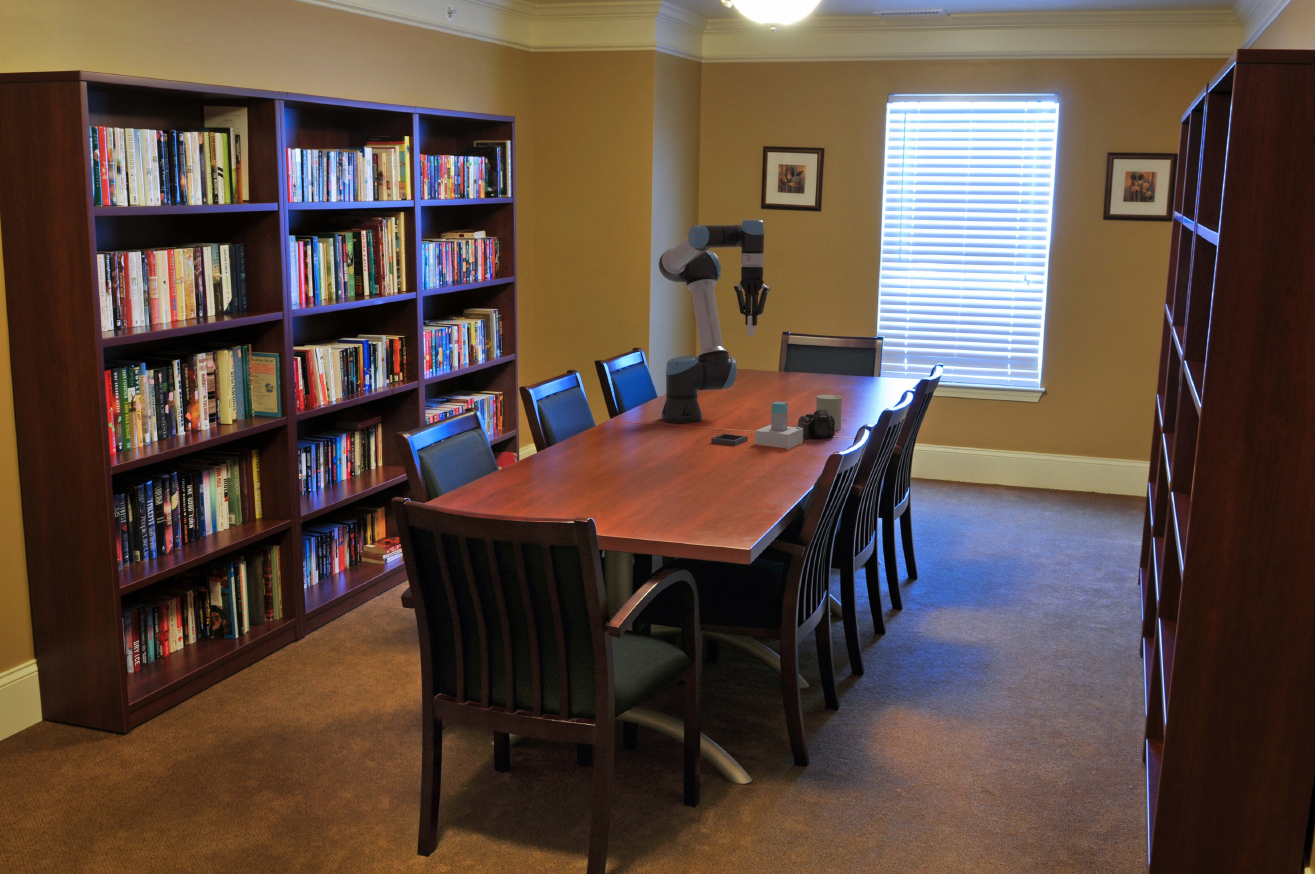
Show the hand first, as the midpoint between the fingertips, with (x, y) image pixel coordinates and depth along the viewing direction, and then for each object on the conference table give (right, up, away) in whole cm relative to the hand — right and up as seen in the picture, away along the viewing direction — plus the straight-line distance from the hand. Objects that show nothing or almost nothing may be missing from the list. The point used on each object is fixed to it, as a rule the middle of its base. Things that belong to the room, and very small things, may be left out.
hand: (751, 334), depth 381 cm
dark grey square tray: (-8, -37, -10) cm, 39 cm away
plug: (+8, -37, -12) cm, 39 cm away
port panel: (+8, -38, -11) cm, 40 cm away
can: (+29, -32, +14) cm, 46 cm away
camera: (+23, -36, -1) cm, 42 cm away
